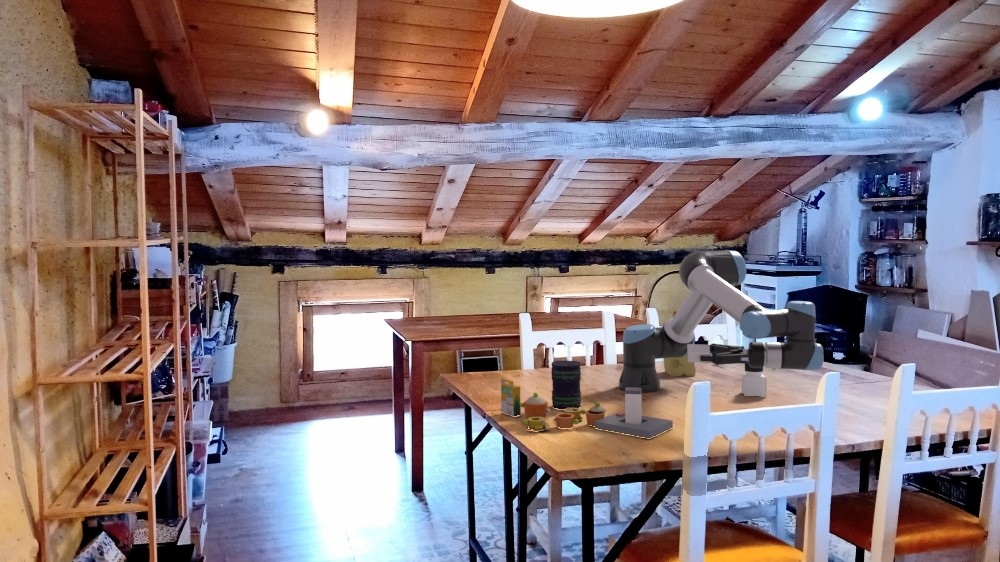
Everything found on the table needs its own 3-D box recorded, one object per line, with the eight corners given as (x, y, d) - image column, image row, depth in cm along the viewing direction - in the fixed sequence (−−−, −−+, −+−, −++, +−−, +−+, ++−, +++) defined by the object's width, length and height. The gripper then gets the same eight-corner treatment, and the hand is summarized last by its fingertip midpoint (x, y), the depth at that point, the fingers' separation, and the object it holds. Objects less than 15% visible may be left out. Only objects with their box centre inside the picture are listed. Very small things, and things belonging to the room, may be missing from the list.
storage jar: (546, 405, 232) (546, 362, 231) (572, 402, 236) (571, 359, 235) (560, 412, 223) (560, 366, 222) (586, 408, 227) (586, 364, 226)
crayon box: (521, 416, 219) (520, 380, 218) (513, 418, 217) (512, 381, 216) (508, 412, 225) (508, 377, 224) (501, 413, 223) (500, 378, 223)
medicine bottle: (766, 397, 237) (766, 363, 237) (744, 397, 239) (744, 363, 238) (762, 393, 244) (762, 359, 244) (741, 392, 246) (741, 359, 245)
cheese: (695, 376, 276) (695, 351, 276) (669, 376, 276) (668, 352, 276) (689, 371, 287) (689, 347, 286) (663, 371, 287) (663, 348, 286)
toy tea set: (525, 435, 199) (525, 402, 198) (515, 421, 214) (514, 391, 214) (611, 429, 203) (611, 397, 203) (595, 416, 219) (595, 386, 218)
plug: (625, 431, 200) (625, 390, 199) (626, 426, 204) (625, 387, 204) (641, 431, 199) (640, 390, 198) (641, 427, 203) (641, 387, 203)
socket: (594, 429, 202) (594, 419, 202) (619, 419, 213) (619, 409, 213) (649, 440, 191) (649, 429, 190) (672, 429, 201) (672, 418, 201)
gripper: (769, 377, 186) (688, 374, 191) (758, 359, 210) (686, 357, 215) (769, 350, 185) (688, 347, 191) (759, 335, 210) (687, 333, 215)
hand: (687, 352), depth 203 cm, fingers open, 13 cm apart
